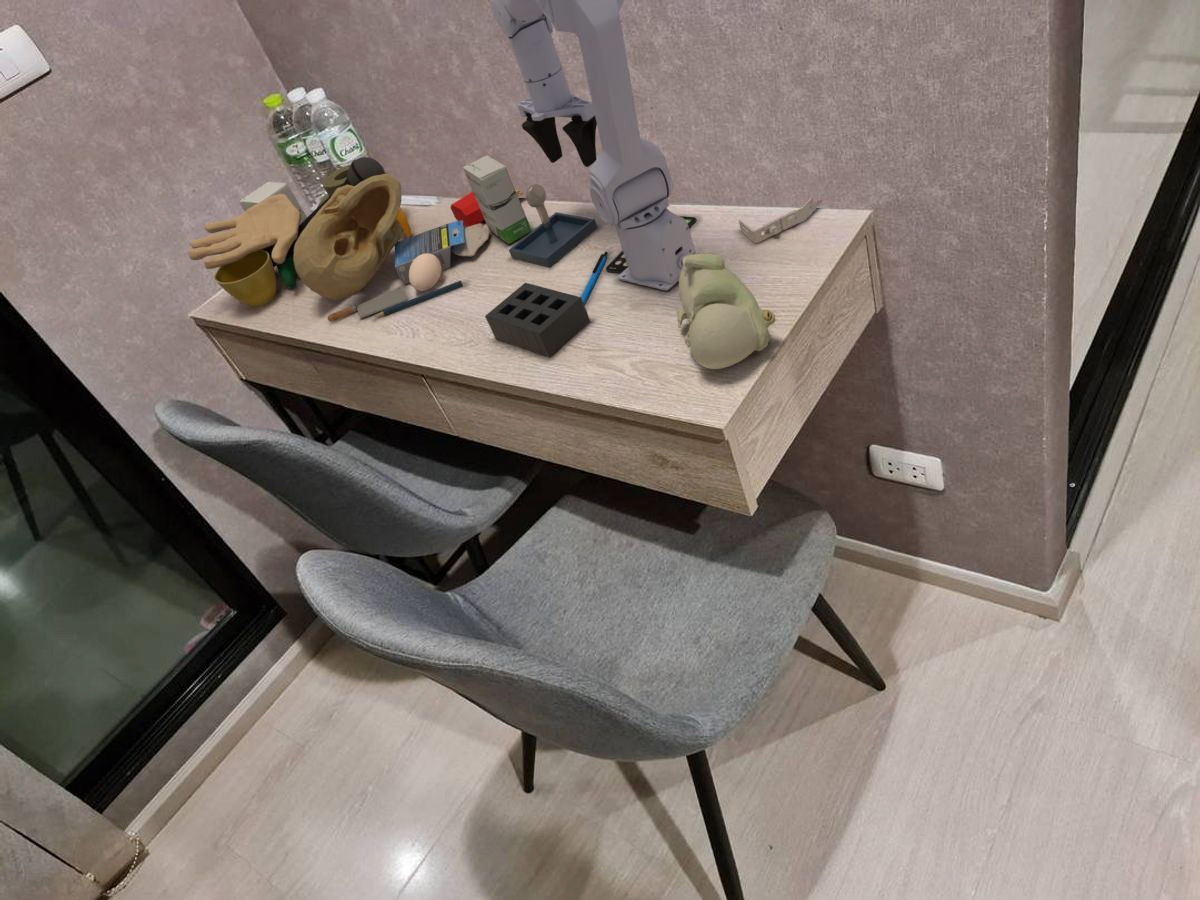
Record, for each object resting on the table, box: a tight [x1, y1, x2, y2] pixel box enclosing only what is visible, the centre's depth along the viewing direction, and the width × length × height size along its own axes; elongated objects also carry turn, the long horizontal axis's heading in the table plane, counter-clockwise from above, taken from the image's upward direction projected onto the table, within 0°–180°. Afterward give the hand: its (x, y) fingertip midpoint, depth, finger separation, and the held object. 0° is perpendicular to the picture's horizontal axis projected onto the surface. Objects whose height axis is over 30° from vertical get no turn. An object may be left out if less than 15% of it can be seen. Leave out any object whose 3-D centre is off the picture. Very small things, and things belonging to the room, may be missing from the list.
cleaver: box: [327, 285, 409, 323], centre depth 138 cm, size 13×1×5 cm
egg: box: [409, 253, 442, 292], centre depth 136 cm, size 5×5×7 cm
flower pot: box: [214, 250, 277, 308], centre depth 152 cm, size 10×10×7 cm
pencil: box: [374, 279, 464, 318], centre depth 135 cm, size 1×1×15 cm
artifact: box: [450, 223, 490, 257], centre depth 142 cm, size 7×3×10 cm
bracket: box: [738, 197, 823, 244], centre depth 118 cm, size 2×6×15 cm
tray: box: [508, 211, 598, 268], centre depth 135 cm, size 9×11×2 cm
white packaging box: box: [238, 181, 308, 225], centre depth 162 cm, size 7×7×13 cm
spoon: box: [525, 183, 557, 243], centre depth 132 cm, size 1×3×10 cm, turn 137°
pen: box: [580, 251, 608, 305], centre depth 121 cm, size 1×19×1 cm, turn 163°
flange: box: [317, 163, 390, 208], centre depth 155 cm, size 5×15×15 cm
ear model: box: [293, 173, 403, 300], centre depth 140 cm, size 13×20×20 cm
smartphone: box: [605, 215, 698, 275], centre depth 125 cm, size 7×1×15 cm
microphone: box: [298, 156, 386, 236], centre depth 150 cm, size 7×7×20 cm
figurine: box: [676, 253, 777, 370], centre depth 101 cm, size 10×16×10 cm
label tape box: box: [394, 220, 465, 286], centre depth 142 cm, size 9×4×12 cm
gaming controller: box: [276, 254, 300, 289], centre depth 155 cm, size 9×4×6 cm
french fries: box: [450, 190, 524, 228], centre depth 150 cm, size 8×4×12 cm
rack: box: [484, 282, 591, 358], centre depth 116 cm, size 12×8×4 cm
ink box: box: [462, 154, 533, 245], centre depth 139 cm, size 9×5×12 cm, turn 29°
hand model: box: [187, 194, 301, 270], centre depth 149 cm, size 19×5×20 cm
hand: (573, 161), depth 130 cm, fingers open, 7 cm apart
